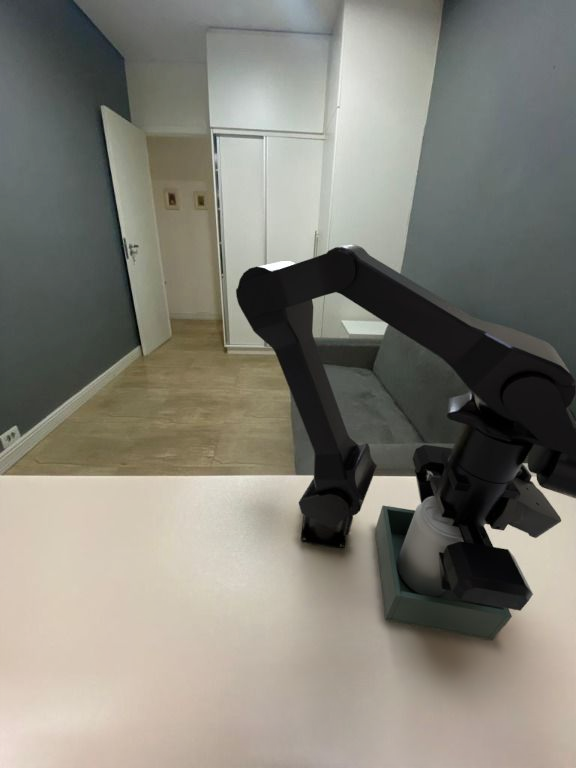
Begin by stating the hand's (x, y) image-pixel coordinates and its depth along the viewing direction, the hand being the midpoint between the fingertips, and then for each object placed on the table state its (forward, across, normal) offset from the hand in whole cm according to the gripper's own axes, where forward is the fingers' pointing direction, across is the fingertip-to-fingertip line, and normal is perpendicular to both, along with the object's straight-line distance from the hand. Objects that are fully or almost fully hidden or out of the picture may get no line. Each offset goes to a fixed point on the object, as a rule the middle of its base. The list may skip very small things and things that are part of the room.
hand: (436, 553), depth 39 cm
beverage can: (+5, 0, +1) cm, 5 cm away
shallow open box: (+5, 0, 0) cm, 5 cm away
